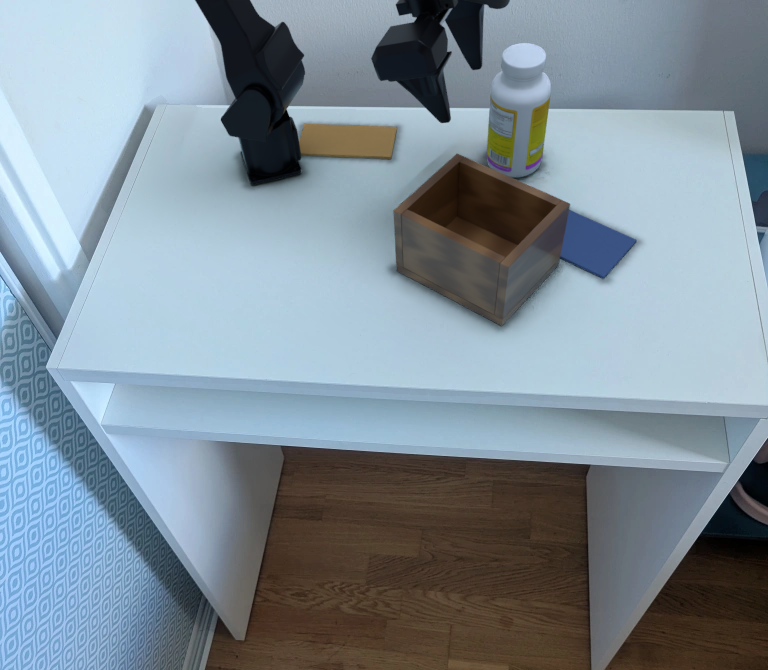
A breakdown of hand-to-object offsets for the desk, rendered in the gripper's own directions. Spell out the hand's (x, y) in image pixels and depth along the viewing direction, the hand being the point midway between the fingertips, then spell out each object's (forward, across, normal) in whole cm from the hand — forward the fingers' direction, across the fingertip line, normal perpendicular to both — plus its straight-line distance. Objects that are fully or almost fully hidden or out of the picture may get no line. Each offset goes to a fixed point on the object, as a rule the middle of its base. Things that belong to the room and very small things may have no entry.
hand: (461, 94), depth 78 cm
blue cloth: (+16, -2, -10) cm, 19 cm away
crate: (+14, -10, -2) cm, 17 cm away
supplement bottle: (+14, +8, 0) cm, 16 cm away
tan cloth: (+7, +5, +20) cm, 22 cm away
